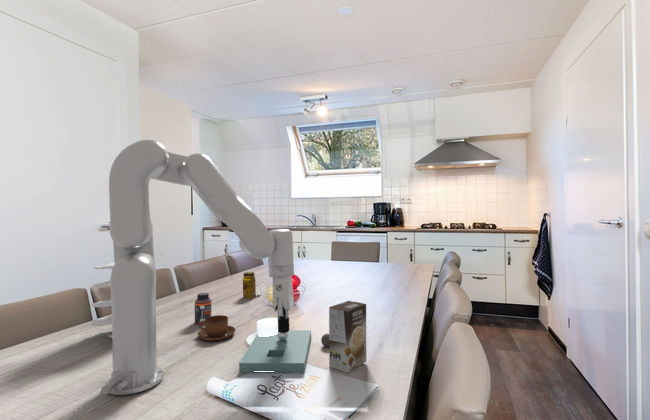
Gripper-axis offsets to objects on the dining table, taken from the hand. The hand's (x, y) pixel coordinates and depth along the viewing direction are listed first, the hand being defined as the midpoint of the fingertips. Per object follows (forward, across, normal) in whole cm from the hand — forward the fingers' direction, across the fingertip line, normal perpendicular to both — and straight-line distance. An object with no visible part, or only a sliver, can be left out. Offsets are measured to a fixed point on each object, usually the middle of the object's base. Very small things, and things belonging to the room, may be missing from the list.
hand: (283, 331), depth 102 cm
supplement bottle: (+5, +24, +34) cm, 42 cm away
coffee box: (+6, -9, -19) cm, 22 cm away
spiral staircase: (+4, +12, +57) cm, 59 cm away
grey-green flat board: (+6, -2, +1) cm, 6 cm away
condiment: (+6, +63, +26) cm, 68 cm away
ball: (+2, +1, 0) cm, 2 cm away
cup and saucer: (+6, +11, +24) cm, 27 cm away
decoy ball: (+4, +3, -13) cm, 14 cm away
